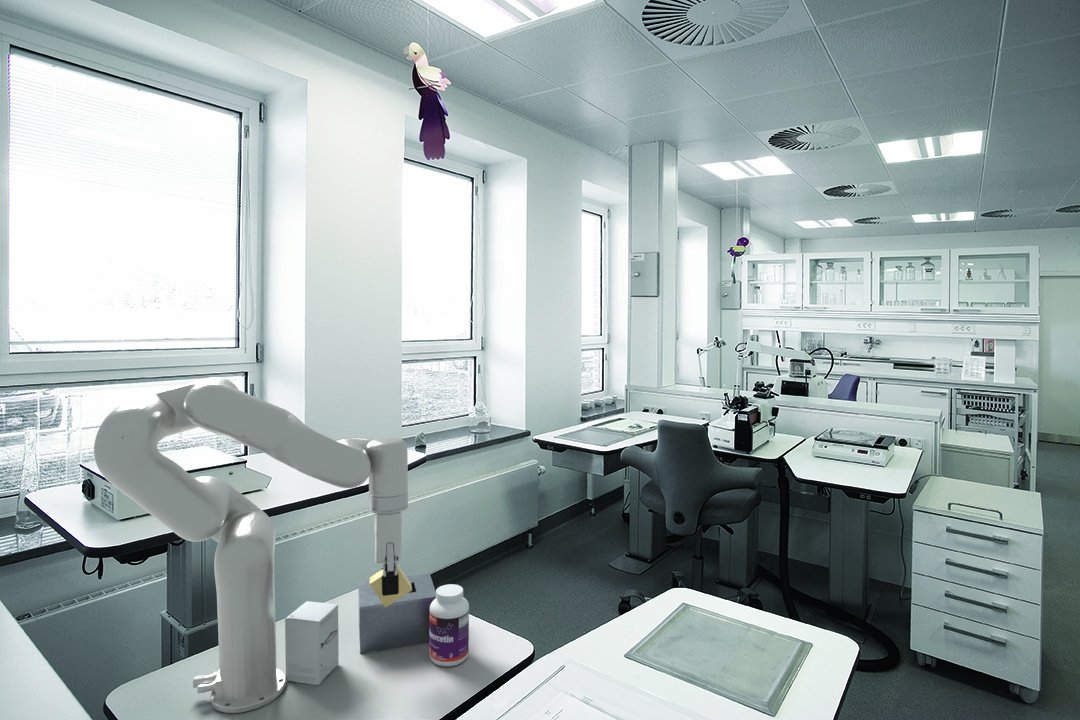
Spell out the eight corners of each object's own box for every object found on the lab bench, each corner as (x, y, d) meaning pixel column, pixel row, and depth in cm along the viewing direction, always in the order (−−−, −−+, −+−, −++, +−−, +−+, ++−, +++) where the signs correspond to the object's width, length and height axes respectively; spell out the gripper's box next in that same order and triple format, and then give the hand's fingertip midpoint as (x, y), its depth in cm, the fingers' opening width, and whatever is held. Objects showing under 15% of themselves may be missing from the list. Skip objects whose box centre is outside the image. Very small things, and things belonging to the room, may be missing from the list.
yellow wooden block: (385, 607, 117) (369, 584, 116) (385, 600, 120) (369, 577, 119) (412, 590, 119) (396, 566, 117) (411, 583, 121) (396, 560, 120)
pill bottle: (421, 662, 120) (420, 593, 119) (445, 643, 127) (445, 578, 126) (453, 673, 117) (453, 602, 116) (476, 653, 124) (476, 586, 123)
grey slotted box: (360, 653, 123) (359, 607, 122) (358, 625, 134) (358, 582, 134) (437, 641, 128) (437, 596, 127) (429, 614, 140) (429, 573, 139)
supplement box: (319, 686, 112) (318, 622, 111) (284, 681, 114) (283, 617, 113) (340, 664, 119) (339, 603, 118) (307, 659, 121) (306, 599, 120)
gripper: (369, 490, 124) (370, 575, 126) (369, 515, 109) (370, 612, 110) (405, 488, 126) (406, 571, 128) (410, 512, 111) (412, 607, 112)
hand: (390, 589), depth 119 cm, fingers closed on yellow wooden block, 2 cm apart
